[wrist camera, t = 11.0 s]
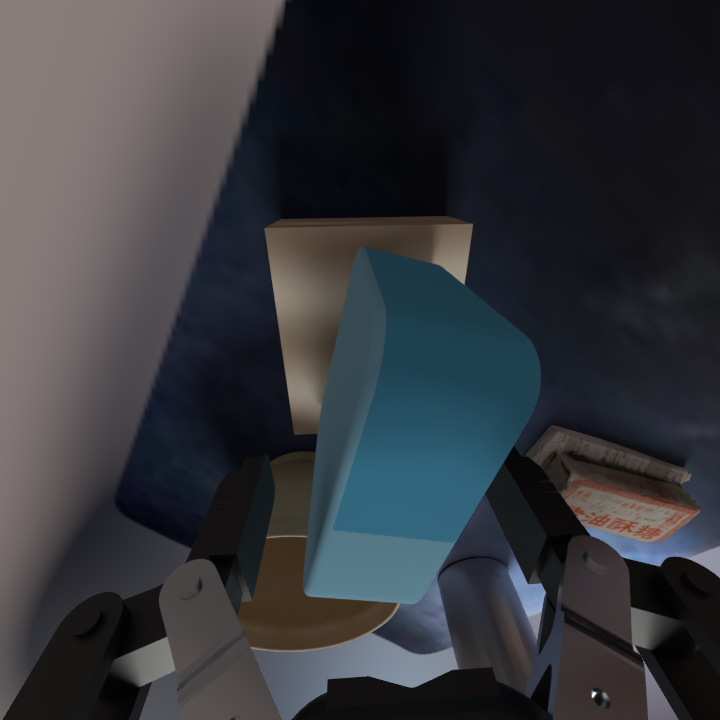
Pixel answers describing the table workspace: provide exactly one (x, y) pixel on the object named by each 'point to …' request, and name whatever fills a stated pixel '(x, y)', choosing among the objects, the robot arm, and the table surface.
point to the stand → (340, 286)
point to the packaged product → (615, 485)
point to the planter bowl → (299, 578)
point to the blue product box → (410, 427)
